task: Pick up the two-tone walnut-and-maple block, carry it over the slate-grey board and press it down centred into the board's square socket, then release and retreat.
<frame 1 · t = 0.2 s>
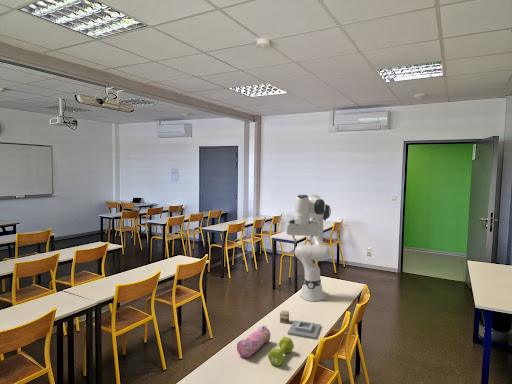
hand: (302, 242, 206), 47 cm above the table, fingers open, 8 cm apart
dumbbell: (281, 358, 161), on the table
stack block: (284, 321, 200), on the table
pencil case: (254, 349, 170), on the table
socket board: (304, 330, 189), on the table
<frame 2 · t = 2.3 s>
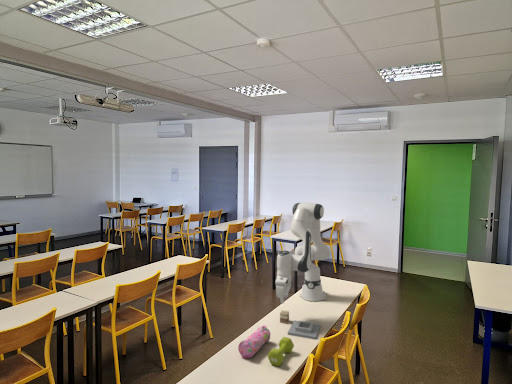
hand: (284, 300, 199), 14 cm above the table, fingers open, 8 cm apart
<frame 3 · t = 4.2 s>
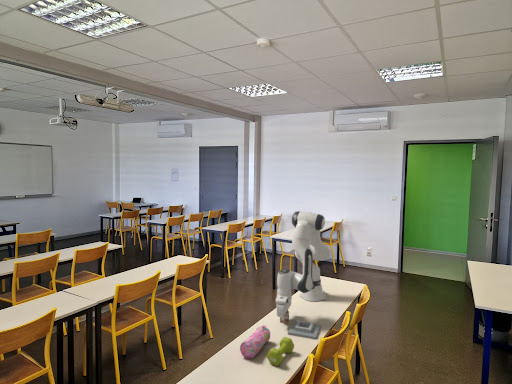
hand: (284, 318, 200), 2 cm above the table, fingers closed on stack block, 4 cm apart
stack block: (284, 321, 200), on the table, touching gripper
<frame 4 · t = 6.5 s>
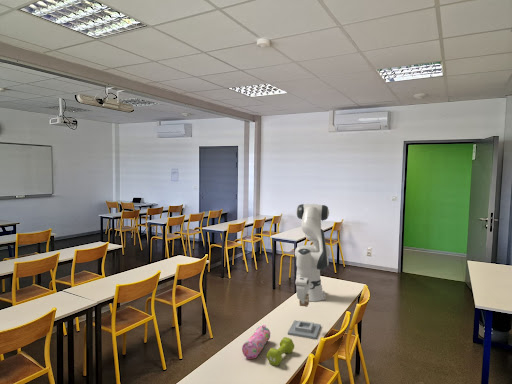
hand: (304, 301, 188), 17 cm above the table, fingers closed on stack block, 4 cm apart
stack block: (304, 304, 188), point 15 cm above the table, touching gripper
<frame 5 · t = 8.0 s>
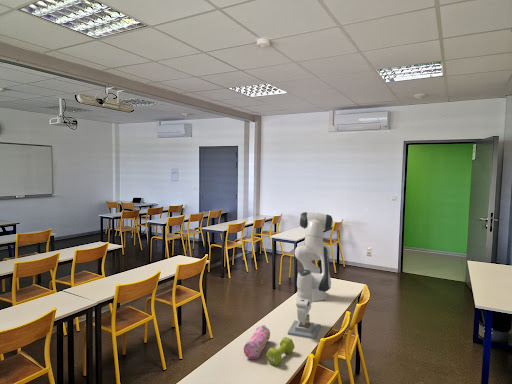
hand: (304, 322, 188), 5 cm above the table, fingers closed on stack block, 4 cm apart
stack block: (304, 325, 188), point 3 cm above the table, touching gripper
when the fingers open (4 cm above the table, at t = 8.9 s): stack block stays where it is, resting on socket board.
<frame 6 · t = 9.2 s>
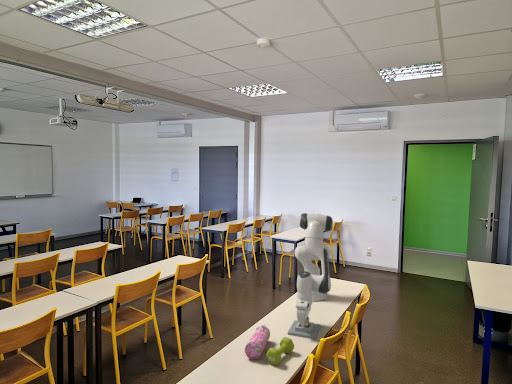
hand: (304, 323, 188), 4 cm above the table, fingers open, 7 cm apart
stack block: (304, 328, 189), point 1 cm above the table, touching socket board
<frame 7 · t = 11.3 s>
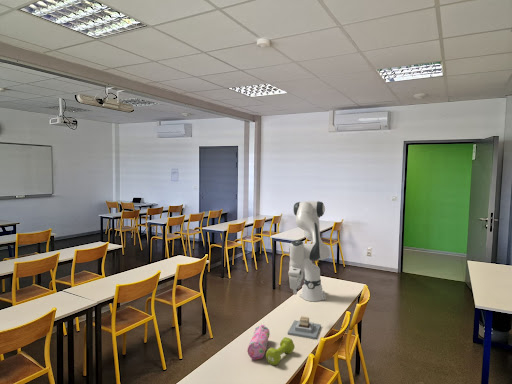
hand: (296, 291, 193), 21 cm above the table, fingers open, 8 cm apart
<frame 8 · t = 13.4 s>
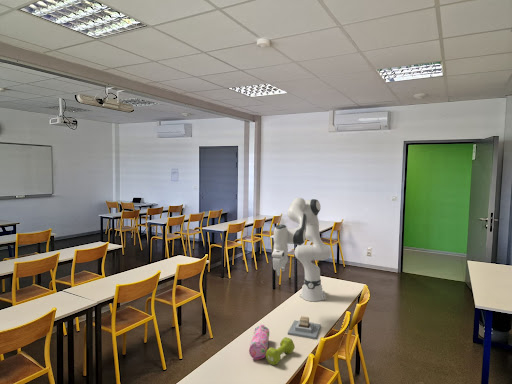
hand: (280, 273, 202), 29 cm above the table, fingers open, 8 cm apart
at the end: stack block 0.1 cm off-centre on the socket board, point 1.2 cm above the socket board's base; stack block tilted 0°; the gripper is holding nothing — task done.
